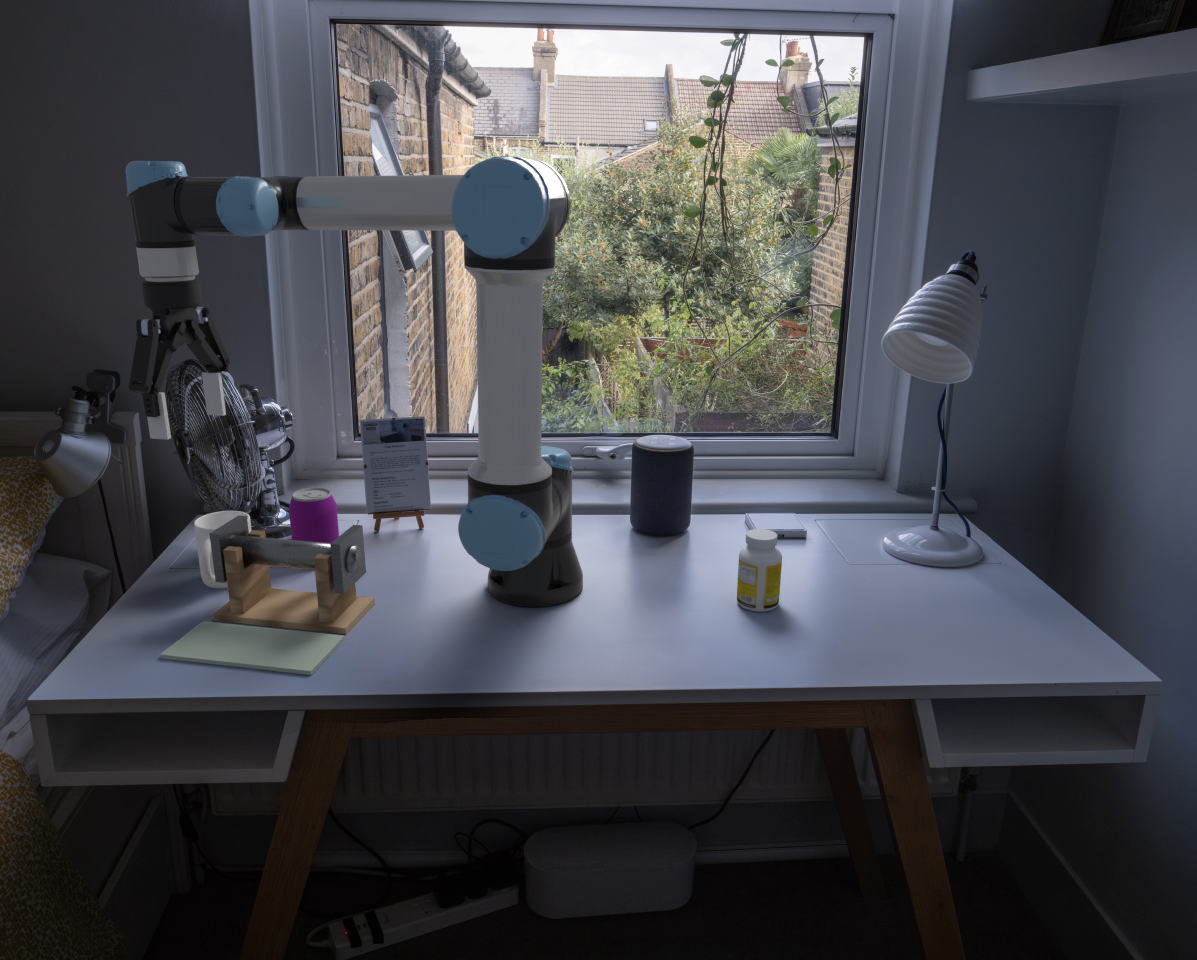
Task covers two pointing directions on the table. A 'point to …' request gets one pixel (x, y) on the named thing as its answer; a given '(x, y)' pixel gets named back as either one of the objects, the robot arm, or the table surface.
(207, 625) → the mat
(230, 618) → the cradle
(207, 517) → the mug
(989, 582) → the table surface
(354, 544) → the rod
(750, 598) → the pill bottle
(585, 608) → the table surface
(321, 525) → the beverage can
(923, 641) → the table surface
